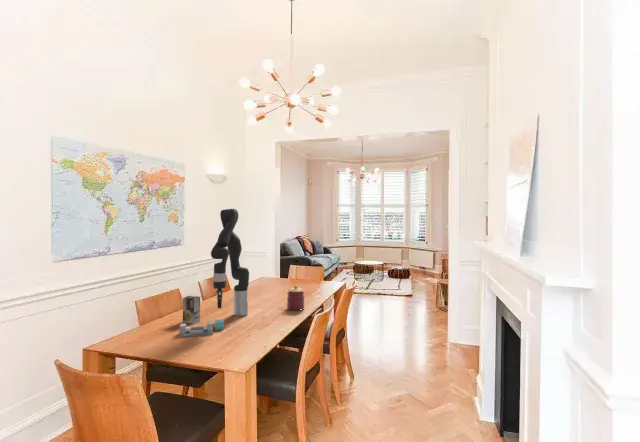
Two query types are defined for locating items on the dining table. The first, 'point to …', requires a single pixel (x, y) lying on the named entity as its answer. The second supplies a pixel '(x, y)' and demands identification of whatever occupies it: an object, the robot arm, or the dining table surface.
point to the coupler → (219, 324)
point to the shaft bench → (196, 330)
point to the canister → (295, 298)
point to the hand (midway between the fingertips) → (219, 306)
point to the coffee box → (191, 309)
